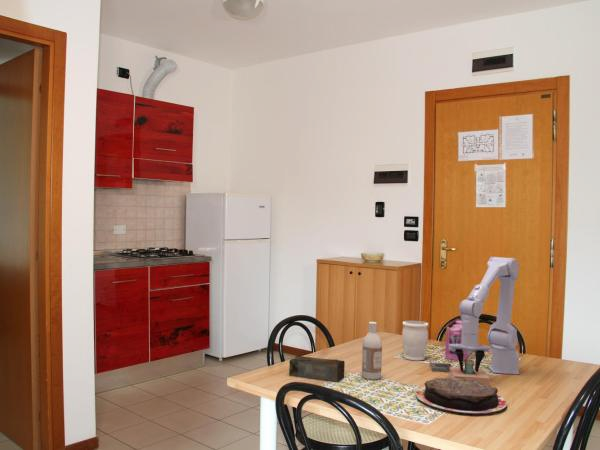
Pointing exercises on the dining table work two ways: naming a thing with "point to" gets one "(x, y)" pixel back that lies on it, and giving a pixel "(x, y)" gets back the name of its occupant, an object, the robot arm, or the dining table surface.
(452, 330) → the gum box
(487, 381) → the socket
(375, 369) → the bath foam
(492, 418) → the dining table surface
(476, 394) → the chocolate cake
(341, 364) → the dark grey long block
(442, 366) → the mount
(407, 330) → the jar
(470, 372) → the pin
